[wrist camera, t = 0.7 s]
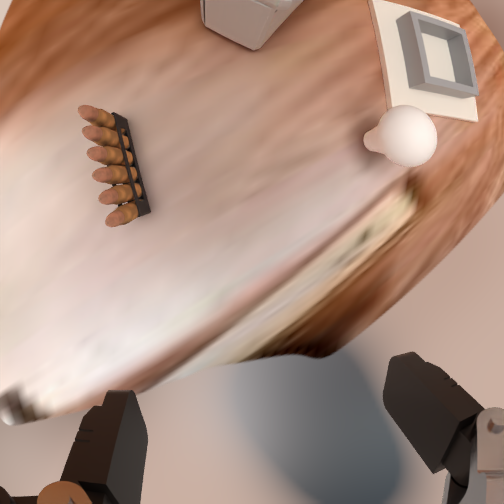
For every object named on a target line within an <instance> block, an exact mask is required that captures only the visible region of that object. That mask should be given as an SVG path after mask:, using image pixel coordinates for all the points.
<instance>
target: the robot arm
mask: <svg viewBox="0 0 504 504" xmlns="http://www.w3.org/2000/svg"><path fill="white" fill-rule="evenodd" d="M383 402H384V406H385V408H386V410H387V411H388V413H389V414H390V415H391V417H392V418H393V419H394V421H395V422H396V424H397V425H398V426H399V428H400V429H401V430H402V432H403V433H404V435H405V436H406V437H407V439H408V440H409V441H410V443H411V444H412V446H413V447H414V448H415V450H416V451H417V453H418V454H419V455H420V457H421V458H422V459H423V461H424V462H425V464H426V465H427V466H428V468H429V469H430V470H431V472H432V473H433V474H434V473H437V472H439V471H441V470H443V469H445V468H446V469H447V470H448V474H447V476H446V480H445V487H444V494H443V500H442V504H504V409H502V408H496V407H494V408H488V409H484V408H483V407H482V406H481V405H480V404H479V403H478V402H477V401H476V400H475V399H474V398H473V397H472V396H471V395H469V394H468V393H467V392H466V391H465V390H464V389H463V388H462V387H461V386H460V385H457V383H456V382H455V381H454V380H453V379H452V378H451V379H450V376H449V375H448V374H447V373H445V371H443V370H442V369H441V368H440V367H438V366H435V365H433V364H431V363H429V362H425V361H424V360H423V359H422V358H421V357H420V356H419V355H417V354H416V353H415V352H409V353H405V354H401V355H397V356H394V357H392V358H391V359H390V361H389V366H388V371H387V376H386V382H385V386H384V390H383ZM147 445H148V435H147V429H146V425H145V422H144V419H143V416H142V413H141V411H140V407H139V404H138V401H137V398H136V395H135V393H134V391H133V390H109V391H108V392H107V393H106V396H105V399H104V402H103V404H102V406H93V407H92V408H91V409H90V411H89V412H88V413H87V414H86V415H85V416H84V417H83V419H82V422H81V424H80V427H79V431H78V432H77V435H76V438H75V442H74V443H73V445H72V448H71V451H70V453H69V456H68V459H67V462H66V464H65V467H64V471H63V473H62V476H61V479H60V481H57V482H54V483H51V484H49V485H47V486H46V487H44V488H43V490H42V491H41V492H40V493H39V495H38V496H24V497H11V496H10V495H9V494H8V493H7V491H6V490H5V489H4V488H2V487H1V486H0V504H140V500H141V491H142V483H143V475H144V467H145V459H146V452H147Z"/></svg>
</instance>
